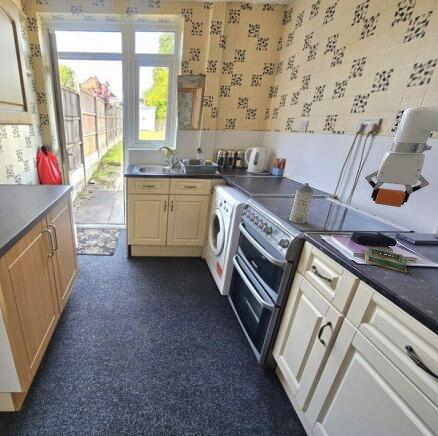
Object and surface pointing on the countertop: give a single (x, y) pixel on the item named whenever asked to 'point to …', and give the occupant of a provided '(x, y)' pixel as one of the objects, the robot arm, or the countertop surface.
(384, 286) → the countertop surface
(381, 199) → the orange block
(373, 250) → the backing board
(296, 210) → the aerosol can
